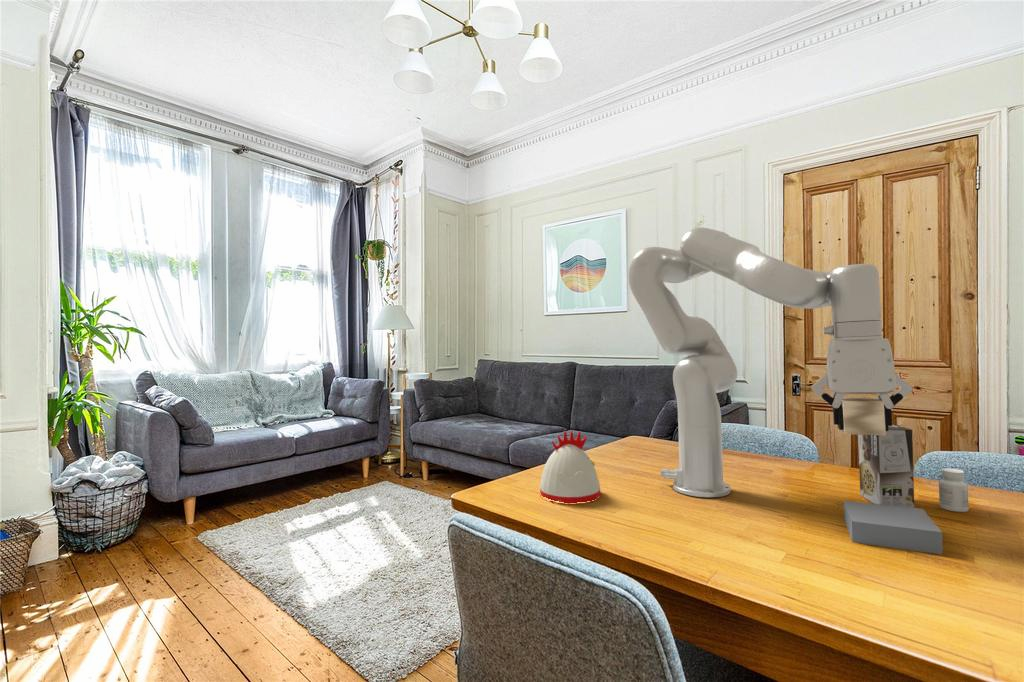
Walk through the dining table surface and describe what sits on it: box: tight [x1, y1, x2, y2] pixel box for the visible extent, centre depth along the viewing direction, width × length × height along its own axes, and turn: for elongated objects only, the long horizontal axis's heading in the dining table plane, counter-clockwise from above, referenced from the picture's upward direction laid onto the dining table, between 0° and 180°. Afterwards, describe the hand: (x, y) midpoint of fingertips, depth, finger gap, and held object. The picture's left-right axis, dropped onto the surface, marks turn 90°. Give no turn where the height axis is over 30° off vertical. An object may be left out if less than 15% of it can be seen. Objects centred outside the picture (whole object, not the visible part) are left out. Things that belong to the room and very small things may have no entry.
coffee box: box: [857, 423, 915, 508], centre depth 105 cm, size 9×6×16 cm
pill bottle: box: [938, 467, 970, 513], centre depth 100 cm, size 4×4×8 cm
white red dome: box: [539, 430, 601, 503], centre depth 116 cm, size 14×14×15 cm
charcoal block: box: [843, 500, 943, 555], centre depth 88 cm, size 12×12×4 cm
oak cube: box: [841, 397, 886, 436], centre depth 92 cm, size 6×6×6 cm
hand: (862, 428), depth 92 cm, fingers closed on oak cube, 6 cm apart
